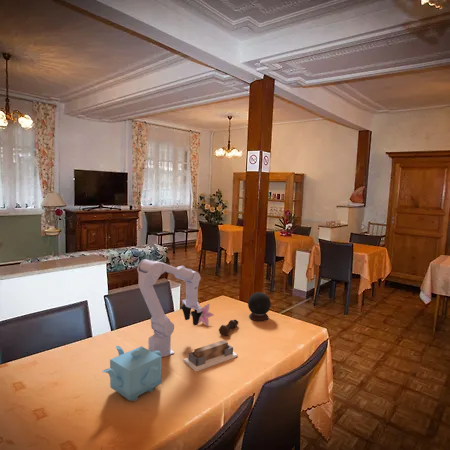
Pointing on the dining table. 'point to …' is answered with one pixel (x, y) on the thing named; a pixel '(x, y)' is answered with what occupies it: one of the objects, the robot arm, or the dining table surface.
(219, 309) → the dining table surface
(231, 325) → the bolt
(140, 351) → the blue cube teapot
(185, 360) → the board
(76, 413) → the dining table surface
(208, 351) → the slat
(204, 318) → the lily
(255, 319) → the black ball on stand
